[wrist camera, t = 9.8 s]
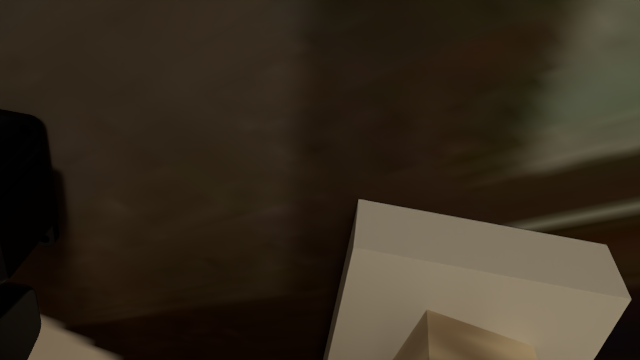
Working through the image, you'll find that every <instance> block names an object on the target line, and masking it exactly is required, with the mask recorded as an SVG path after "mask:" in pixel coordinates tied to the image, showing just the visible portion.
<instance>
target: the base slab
mask: <svg viewBox="0 0 640 360" xmlns="http://www.w3.org/2000/svg"><path fill="white" fill-rule="evenodd" d="M630 301H631V297H630V295H629V293H628V291H627V289H626V286H625V284H624V282H623V280H622V278H621V275H620V273H619V271H618V269H617V267H616V264H615V262H614V260H613V258H612V256H611V253H610V251H609V249H608V247H607V245H604V244H599V243H593V242H588V241H582V240H577V239H572V238H566V237H561V236H555V235H550V234H544V233H539V232H534V231H528V230H523V229H517V228H512V227H507V226H501V225H496V224H490V223H485V222H480V221H474V220H469V219H463V218H458V217H453V216H447V215H442V214H436V213H431V212H425V211H420V210H415V209H409V208H404V207H398V206H393V205H388V204H382V203H377V202H371V201H366V200H361V199H359V200H358V204H357V209H356V213H355V218H354V222H353V227H352V231H351V236H350V240H349V245H348V249H347V254H346V259H345V263H344V268H343V272H342V277H341V281H340V286H339V290H338V295H337V299H336V304H335V308H334V313H333V317H332V322H331V326H330V331H329V335H328V340H327V344H326V349H325V353H324V358H323V360H393V359H394V357H395V356H396V354H397V353H398V351H399V350H400V348H401V347H402V345H403V344H404V342H405V341H406V339H407V338H408V336H409V335H410V333H411V332H412V330H413V329H414V328H415V326H416V325H417V323H418V322H419V320H420V319H421V317H422V316H423V314H424V313H425V311H426V310H430V311H433V312H436V313H439V314H442V315H445V316H448V317H450V318H453V319H456V320H459V321H462V322H465V323H468V324H471V325H473V326H476V327H479V328H482V329H485V330H488V331H491V332H494V333H496V334H499V335H502V336H505V337H508V338H511V339H514V340H516V341H519V342H522V343H525V344H528V345H531V346H534V349H535V353H536V357H537V360H594V358H595V356H596V355H597V353H598V352H599V350H600V349H601V347H602V345H603V344H604V342H605V341H606V339H607V337H608V336H609V334H610V333H611V331H612V329H613V328H614V326H615V325H616V323H617V321H618V320H619V318H620V317H621V315H622V313H623V312H624V310H625V309H626V307H627V305H628V304H629V302H630Z"/></svg>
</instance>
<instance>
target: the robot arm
mask: <svg viewBox="0 0 640 360" xmlns="http://www.w3.org/2000/svg"><path fill="white" fill-rule="evenodd" d="M25 125H26V126H28V127H30V128H31V130H32V131H30V130H28V129H27V128H26V126H25ZM58 217H59V215H58V208H57V201H56V194H55V187H54V180H53V173H52V171H51V169H50V167H49V162H48V155H47V149H46V142H45V135H44V128H43V125H42V123H41V122H40V121H39V119H37V118H36V117H34V116H32V115H29V114H23V113H18V112H12V111H7V110H1V109H0V283H3V282H5V281H6V280H7V279H9V278H10V277H11V276H12V275H13V273H14V272H15V271H16V270H17V268H18V267H19V266H20V265H21V263H22V262H23V261H24V260H25V259H26V257H27V256H28V255H29V254H30V252H31V251H32V250H33V249H34V248H35V246H36V245H39V246H44V247H50V246H53V244H54V243H55V242H56V241H57V239H58V238H59V231H58V224H57V219H58ZM46 235H47V236H46ZM40 329H41V318H40V313H39V307H38V302H37V297H36V292H35V290H34V289H33V288H32V287H31V286H27V285H22V284H17V283H10V282H9V283H4V284H2V285H0V360H27V359H28V357H29V355H30V353H31V351H32V349H33V347H34V344H35V342H36V340H37V338H38V336H39V333H40Z"/></svg>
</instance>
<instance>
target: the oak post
mask: <svg viewBox="0 0 640 360" xmlns="http://www.w3.org/2000/svg"><path fill="white" fill-rule="evenodd" d="M393 360H537V357H536V353H535V349H534V346H531V345H528V344H525V343H522V342H519V341H516V340H514V339H511V338H508V337H505V336H502V335H499V334H496V333H494V332H491V331H488V330H485V329H482V328H479V327H476V326H473V325H471V324H468V323H465V322H462V321H459V320H456V319H453V318H450V317H448V316H445V315H442V314H439V313H436V312H433V311H430V310H426V311H425V313H424V314H423V316H422V317H421V319H420V320H419V322H418V323H417V325H416V326H415V328H414V329H413V330H412V332H411V333H410V335H409V336H408V338H407V339H406V341H405V342H404V344H403V345H402V347H401V348H400V350H399V351H398V353H397V354H396V356H395V357H394V359H393Z"/></svg>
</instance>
